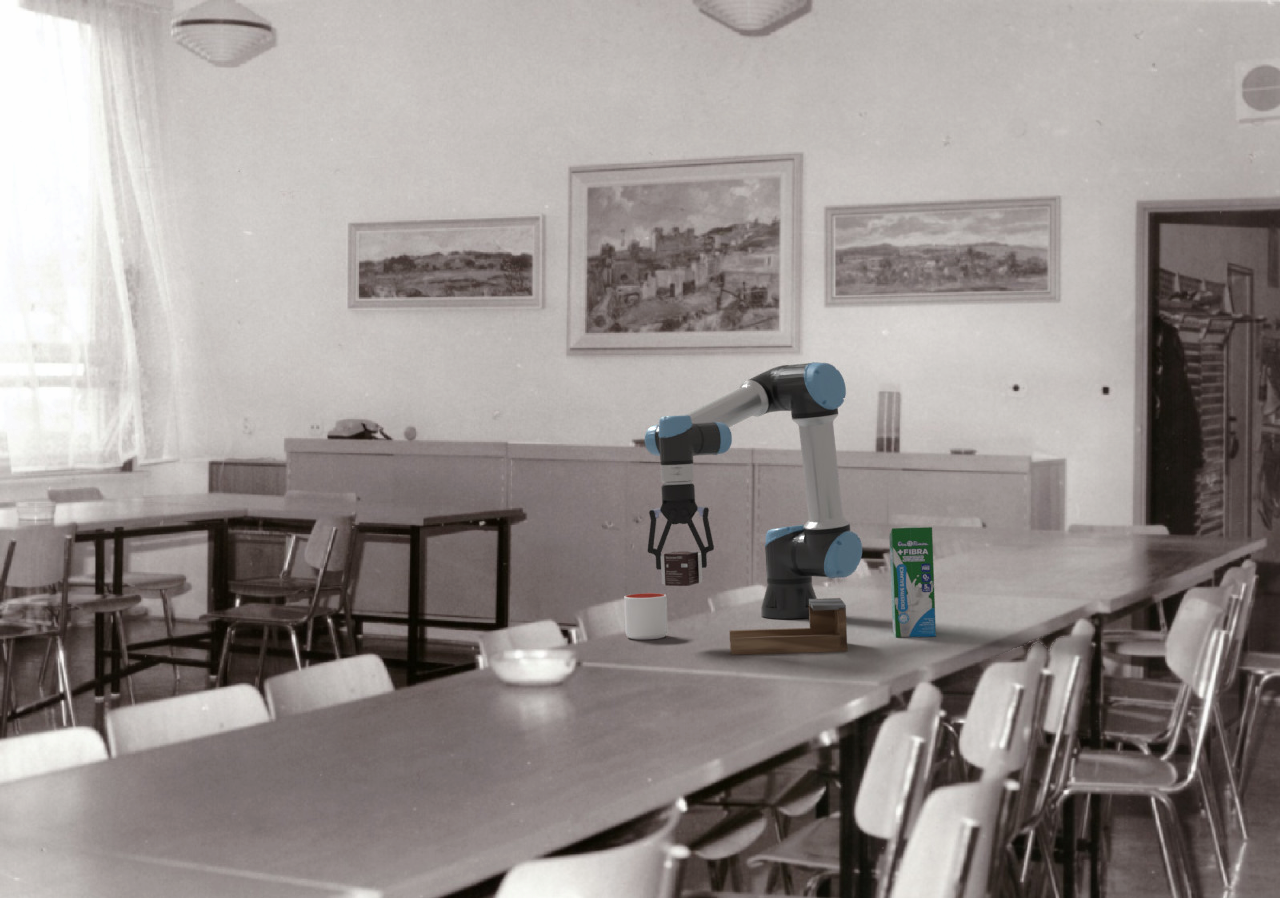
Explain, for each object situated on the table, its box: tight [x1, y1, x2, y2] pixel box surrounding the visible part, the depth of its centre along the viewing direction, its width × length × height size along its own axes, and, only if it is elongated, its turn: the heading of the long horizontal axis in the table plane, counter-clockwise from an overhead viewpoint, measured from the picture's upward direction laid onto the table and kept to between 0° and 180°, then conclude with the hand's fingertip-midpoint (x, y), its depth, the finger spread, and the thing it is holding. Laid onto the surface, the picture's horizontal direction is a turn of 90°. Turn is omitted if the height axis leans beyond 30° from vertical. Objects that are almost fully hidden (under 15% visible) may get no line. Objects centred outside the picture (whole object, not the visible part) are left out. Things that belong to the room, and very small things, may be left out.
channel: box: [729, 597, 848, 656], centre depth 318 cm, size 13×25×10 cm, turn 87°
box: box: [663, 550, 700, 587], centre depth 329 cm, size 6×6×7 cm
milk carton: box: [888, 525, 937, 638], centre depth 332 cm, size 9×9×25 cm
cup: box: [623, 592, 669, 641], centre depth 343 cm, size 10×10×10 cm
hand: (682, 582), depth 329 cm, fingers closed on box, 8 cm apart
